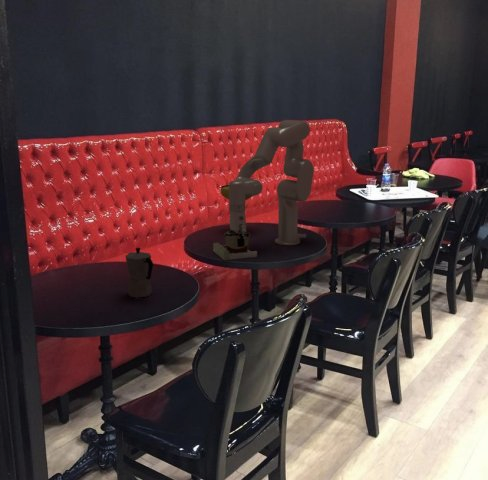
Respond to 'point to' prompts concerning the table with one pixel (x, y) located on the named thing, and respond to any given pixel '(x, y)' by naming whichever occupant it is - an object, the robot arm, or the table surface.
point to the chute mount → (225, 255)
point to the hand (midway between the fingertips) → (237, 243)
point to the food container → (235, 242)
